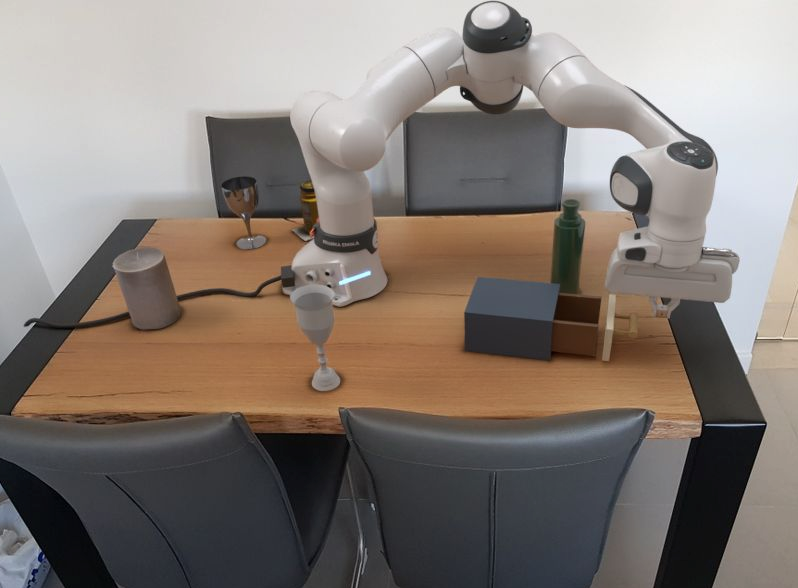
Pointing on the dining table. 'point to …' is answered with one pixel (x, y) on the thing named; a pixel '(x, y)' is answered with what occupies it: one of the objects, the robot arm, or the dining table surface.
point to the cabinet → (511, 317)
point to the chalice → (317, 327)
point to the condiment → (307, 210)
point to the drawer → (586, 324)
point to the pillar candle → (147, 288)
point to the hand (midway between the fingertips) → (660, 316)
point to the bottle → (568, 248)
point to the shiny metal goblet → (243, 206)
